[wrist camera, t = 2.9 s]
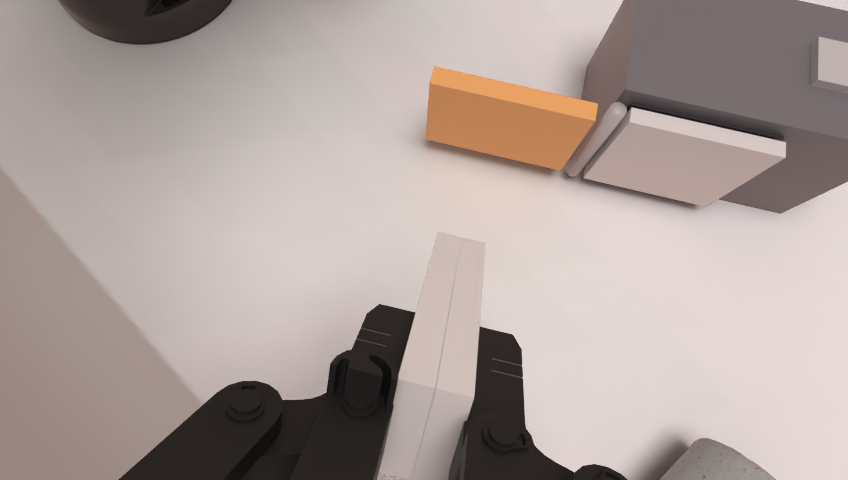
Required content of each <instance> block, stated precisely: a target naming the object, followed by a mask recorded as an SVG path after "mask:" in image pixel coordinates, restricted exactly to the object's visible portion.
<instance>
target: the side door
mask: <svg viewBox="0 0 848 480" xmlns="http://www.w3.org/2000/svg"><path fill="white" fill-rule="evenodd" d="M597 108H598V103H593V102H589V101H585V100H580V99H576V98H571V97H567V96H563V95H558V94H554V93H549V92H545V91H541V90H536V89H532V88H528V87H523V86H519V85H514V84H510V83H506V82H501V81H497V80H492V79H488V78H484V77H479V76H475V75H470V74H466V73H462V72H457V71H453V70H448V69H444V68H440V67H435V66H434V69H433V73H432V77H431V80H430V86H429V100H428V114H427V128H426V140H431V141H435V142H439V143H443V144H448V145H452V146H456V147H461V148H465V149H469V150H473V151H478V152H482V153H486V154H491V155H495V156H499V157H503V158H508V159H512V160H516V161H521V162H525V163H529V164H533V165H538V166H542V167H546V168H551V169H555V170H559V171H561V170H562V168H563V167H564V165H565V164H566V163H567V161H568V160H569V158H570V157H571V155H572V154H573V153H574V151H575V150H576V148H577V147H578V145H579V144H580V142H581V141H582V140H583V138H584V137H585V135H586V134H587V132H588V131H589V130H590V128H591V127H592V125H593V124H594V122H595V121H596V114H597ZM626 113H627V114H626ZM623 117H624V118H623ZM619 122H620V123H619ZM615 127H616V128H615ZM604 141H605V142H604ZM600 146H601V147H600ZM784 158H786V142H782V141H778V140H774V139H769V138H765V137H760V136H756V135H751V134H747V133H743V132H738V131H734V130H729V129H725V128H721V127H716V126H712V125H707V124H703V123H699V122H694V121H690V120H685V119H681V118H677V117H672V116H668V115H663V114H659V113H655V112H650V111H646V110H641V109H637V108H633V107H631V109H630V110H629V111H628V112H627V108H626V106H625V105H624V104H622V103H620V102H614V103H612V104H611V106H610V107H609V108H608V110H607V111H606V113H605V114H604V115H603V117H602V118H601V120H600V121H599V122H598V124H597V125H596V127H595V128H594V129H593V131H592V132H591V134H590V135H589V136H588V138H587V139H586V141H585V142H584V144H583V145H582V146H581V148H580V149H579V151H578V152H577V153H576V155H575V156H574V158H573V159H572V160H571V162H570V163H569V165H568V166H567V168H566V173H567V174H568V175H569V176H571V177H576V176H577V175H578V174H579V173H580V172H581V171H582V169H583V168H584V167H585V170H584V176H583V178H585V179H589V180H593V181H597V182H602V183H606V184H610V185H615V186H619V187H623V188H627V189H632V190H636V191H640V192H645V193H649V194H653V195H657V196H662V197H666V198H670V199H675V200H679V201H683V202H687V203H692V204H696V205H700V206H705V207H706V206H708V205H710V204H711V203H713V202H715V201H716V200H718V199H719V198H721V197H723V196H724V195H726V194H728V193H729V192H731V191H732V190H734V189H736V188H737V187H739V186H741V185H742V184H744V183H745V182H747V181H749V180H750V179H752V178H754V177H755V176H757V175H758V174H760V173H762V172H763V171H765V170H766V169H768V168H770V167H771V166H773V165H775V164H776V163H778V162H779V161H781V160H783V159H784ZM589 160H590V161H589ZM585 165H586V166H585Z"/></svg>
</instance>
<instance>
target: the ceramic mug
mask: <svg viewBox="0 0 848 480" xmlns="http://www.w3.org/2000/svg"><path fill="white" fill-rule="evenodd" d="M660 480H776V479H775V478H773V477H772V476H771V475H770V474H769V473H768V472H766V471H765V470H764V469H762V468H761V467H760V466H758V465H757V464H756V463H754V462H752V461H751V460H749V459H747V458H746V457H745V456H743V455H742V454H741V453H739V452H738V451H736V450H734V449H733V448H730V447H728V446H726V445H724V444H722V443H720V442H717V441H714V440H711V439H709V438H701V439H698V440H697V441H695V442H694V443H693V444H692V445H691V446H690V448H689V449H688V450H687V451H686V452H685V453H684V454H683V455H682V456H681V457H680V458H679V459H678V460H677V461H676V462H675V463H674V464H673V465H672V467H671V468H670V469H669V470H668V471H667V472H666V473H665V474H664V475H663V476H662V478H661V479H660Z"/></svg>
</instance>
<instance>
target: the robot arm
mask: <svg viewBox="0 0 848 480" xmlns="http://www.w3.org/2000/svg"><path fill="white" fill-rule="evenodd" d="M58 1H59V2H60V3H61V4H62V5H63V6H64V7H65V8H66V10H67V11H68V12H69V13H70V14H71V15H72V16H73V17H74V18H75V20H77V21H78V22H79V23H80V24H81V25H82V26H84V27H85V28H87V29H88V30H90V31H92V32H93V33H95V34H98V35H100V36H102V37H105V38H108V39H111V40H115V41H120V42H127V43H153V42H160V41H166V40H170V39H174V38H177V37H180V36H183V35H185V34H188V33H190V32H192V31H194V30H196V29H198V28H200V27H202V26H203V25H205V24H206V23H208V22H209V21H211V20H212V19H213V18H214V17H216V16H217V15H218V14H219V13H220V12H221V11H222V10H223V9H224V8H225V7H226V6H227V5H228V3H229V2H230V1H231V0H58ZM485 245H486V243H483V242H479V241H474V240H470V239H466V238H461V237H457V236H453V235H448V234H444V233H440V232H438V233H437V237H436V240H435V244H434V248H433V251H432V255H431V259H430V262H429V266H428V269H427V273H426V277H425V280H424V284H423V288H422V291H421V295H420V299H419V302H418V306H417V310H416V313H415V312H410V311H406V310H402V309H398V308H394V307H390V306H385V305H381V304H379V305H378V306H376V307H375V308H374V309H372V310H371V311H370V312H368V313H367V315H366V317H365V320H364V322H363V324H362V327H361V329H360V331H359V334H358V336H357V339H356V341H355V343H354V346H353V348H352V350H347V351H345V352H343V353H341V354H339V355H338V356H336V358H335V359H334V360H333V361H332V362H331V364H330V371H329V379H328V387H327V393H325V394H323V395H321V396H318V397H315V398H312V399H304V400H282V398H281V397H280V395H279V393H278V391H277V390H275V389H274V388H273V387H271V386H270V385H268V384H265V383H261V382H258V381H242V382H238V383H235V384H231V385H228V386H227V387H225V388H224V389H222V390H220V391H219V392H217V393H216V394H215V395H214V396H213V397H212V398H210V399H209V400H208V401H207V402H206V403H205V404H204V405H203V406H201V407H200V408H199V409H198V410H197V411H196V412H195V413H194V414H192V415H191V416H190V417H189V418H188V419H187V420H186V421H184V422H183V423H182V424H181V425H180V426H179V427H178V428H177V429H176V430H174V431H173V432H172V433H171V434H170V435H169V436H167V437H166V438H165V439H164V440H163V441H162V442H161V443H160V444H158V445H157V446H156V447H155V448H154V449H153V450H152V451H150V452H149V453H148V454H147V455H146V456H145V457H144V458H143V459H141V460H140V461H139V462H138V463H137V464H136V465H135V466H134V467H132V468H131V469H130V470H129V471H128V472H127V473H126V474H124V475H123V476H122V477H121V478H120V479H119V480H377V477H378V473H381V474H385V475H389V476H392V477H396V478H400V479H404V480H627V479H626V478H625V477H624V476H623V475H621V474H620V473H618V472H616V471H614V470H612V469H610V468H608V467H605V466H600V465H596V464H593V465H586V466H582V467H581V468H580V469H579V470H577V471H576V472H575V473H574V472H572V471H571V470H569V469H567V468H565V467H563V466H561V465H559V464H558V463H556V462H554V461H553V460H551V459H549V458H548V457H546V456H545V455H544V454H543V453H542V452H540V451H539V450H538V449H537V448H536V446H535V445H534V443H533V440H532V436H531V435H530V433H529V432H528V431H527V429H526V426H525V414H524V393H523V379H522V377H523V372H522V351H521V348H520V346H519V344H518V343H517V341H516V339H515V338H514V336H513V335H512V334H508V333H503V332H499V331H495V330H491V329H487V328H483V327H480V313H481V299H482V286H483V272H484V259H485Z"/></svg>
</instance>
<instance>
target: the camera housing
mask: <svg viewBox="0 0 848 480" xmlns="http://www.w3.org/2000/svg"><path fill="white" fill-rule="evenodd" d="M582 100H585V101H589V102H593V103H598V108H597V114H596V121H595V122H594V124H593V125H592V127H591V128H590V130H589V131H588V132H587V134H586V135H585V137H584V138H583V140H582V141H581V142H580V144H579V145H578V147H577V148H576V150H575V151H574V153H573V154H572V158H571V160H572V159H573V158H574V156H575V155H576V153H577V152H578V151H579V149H580V148H581V146H582V145H583V144H584V142H585V141H586V139H587V138H588V136H589V135H590V134H591V132H592V131H593V129H594V128H595V127H596V125H597V124H598V122H599V121H600V120H601V118H602V117H603V115H604V114H605V113H606V111H607V110H608V108H609V107H610V106H611V104H612V103H614V102H620V103H622V104H624V105H625V106H626V108H627V112H628V111H629V110H630V109H631V107H633V108H637V109H641V110H646V111H650V112H655V113H659V114H663V115H668V116H672V117H677V118H681V119H685V120H690V121H694V122H699V123H703V124H707V125H712V126H716V127H721V128H725V129H729V130H734V131H738V132H743V133H747V134H751V135H756V136H760V137H765V138H769V139H774V140H778V141H782V142H786V158H784V159H783V160H781V161H779V162H778V163H776V164H775V165H773V166H771V167H770V168H768V169H766V170H765V171H763V172H762V173H760V174H758V175H757V176H755V177H754V178H752V179H750V180H749V181H747V182H745V183H744V184H742V185H741V186H739V187H737V188H736V189H734V190H732V191H731V192H729V193H728V194H726V195H724V196H723V197H721V198H719V199H721V200H725V201H730V202H734V203H738V204H743V205H747V206H751V207H755V208H760V209H764V210H768V211H773V212H777V213H783V212H785V211H787V210H789V209H791V208H793V207H795V206H797V205H799V204H801V203H804V202H806V201H808V200H810V199H812V198H814V197H816V196H818V195H820V194H823V193H825V192H827V191H829V190H831V189H833V188H835V187H837V186H839V185H841V184H844V183H846V182H848V11H845V10H840V9H835V8H831V7H826V6H821V5H817V4H812V3H808V2H803V1H798V0H624V1H623V3H622V5H621V6H620V8H619V10H618V12H617V14H616V15H615V17H614V19H613V21H612V23H611V24H610V26H609V28H608V30H607V32H606V33H605V35H604V37H603V39H602V41H601V42H600V44H599V46H598V48H597V50H596V51H595V53H594V55H593V57H592V59H591V60H590V62H589V64H588V66H587V71H586V77H585V83H584V89H583V95H582ZM626 114H627V113H626ZM623 118H624V117H623ZM619 123H620V122H619ZM615 128H616V127H615ZM604 142H605V141H604ZM600 147H601V146H600ZM589 161H590V160H589ZM585 166H586V165H585ZM584 168H585V167H584Z"/></svg>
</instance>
